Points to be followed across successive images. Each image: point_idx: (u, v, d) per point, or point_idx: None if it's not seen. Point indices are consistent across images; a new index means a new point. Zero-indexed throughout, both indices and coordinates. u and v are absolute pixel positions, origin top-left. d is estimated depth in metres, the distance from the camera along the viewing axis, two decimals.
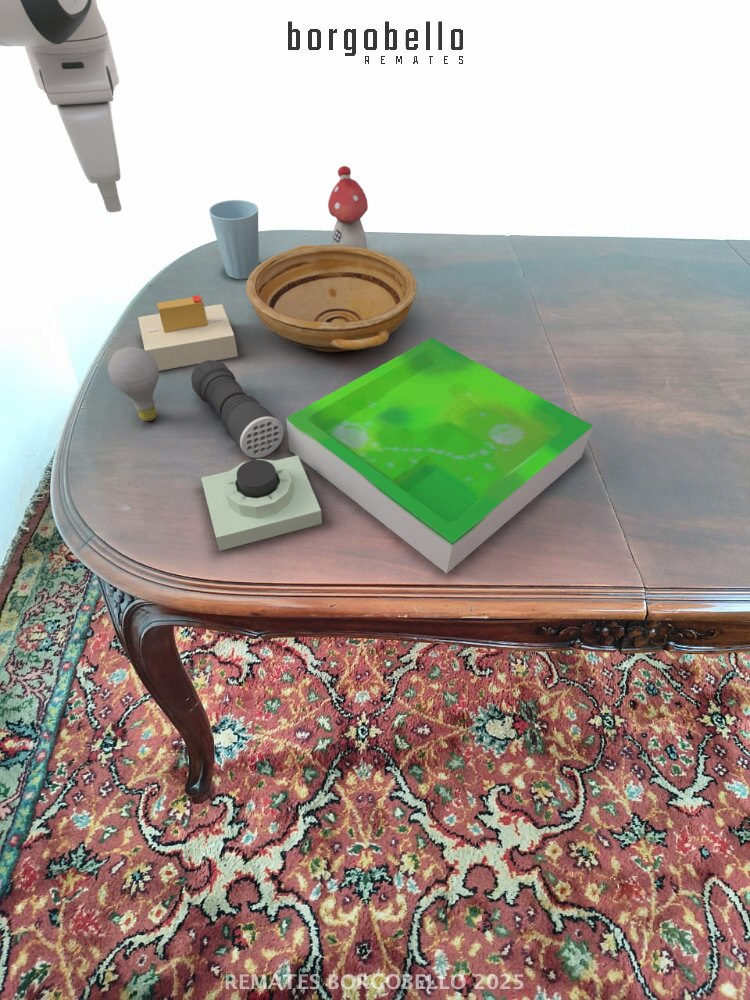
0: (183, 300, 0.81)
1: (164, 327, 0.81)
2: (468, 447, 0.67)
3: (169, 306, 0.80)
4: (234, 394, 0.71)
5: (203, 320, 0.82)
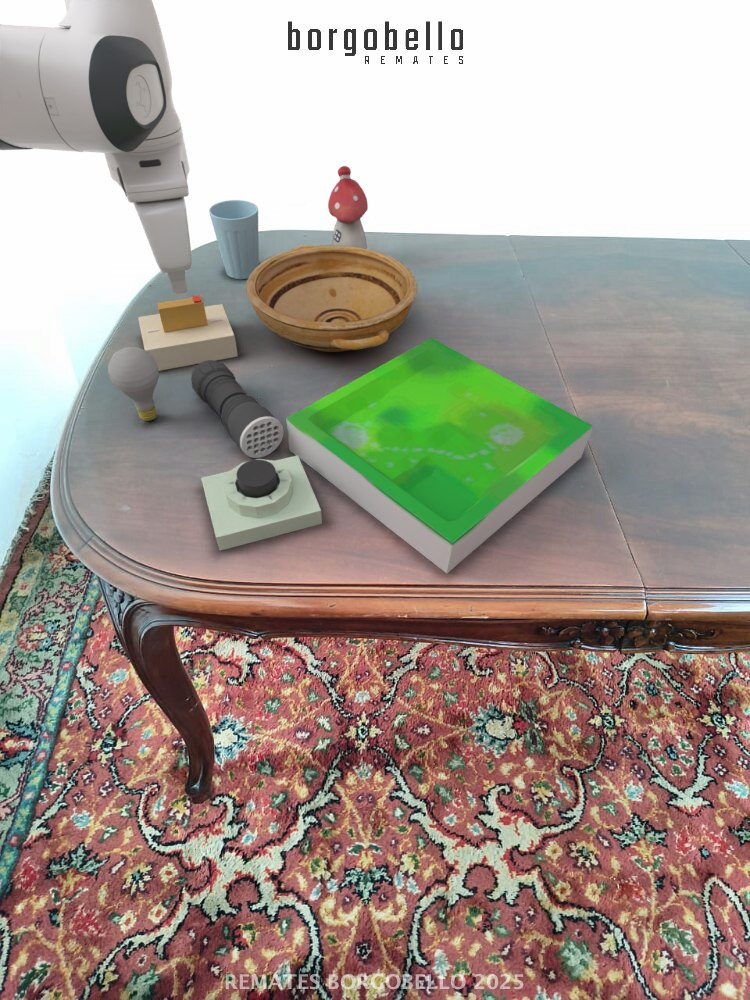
0: (183, 300, 0.81)
1: (164, 327, 0.81)
2: (468, 447, 0.67)
3: (169, 306, 0.80)
4: (234, 394, 0.71)
5: (203, 320, 0.82)
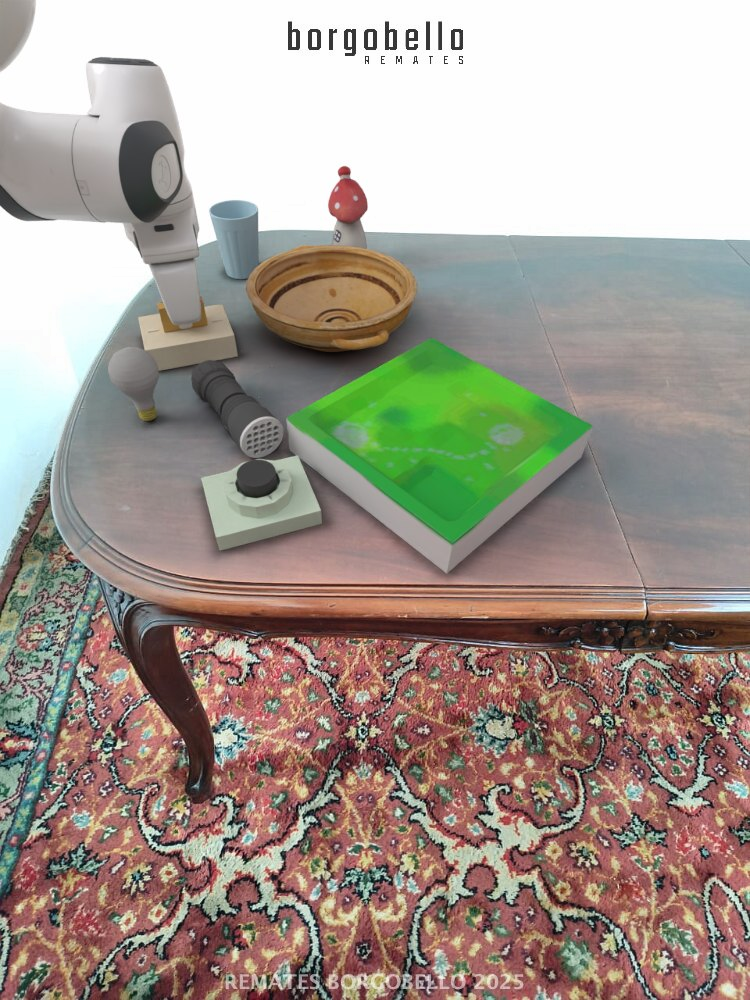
0: None
1: (164, 327, 0.81)
2: (468, 447, 0.67)
3: None
4: (234, 394, 0.71)
5: (203, 320, 0.82)
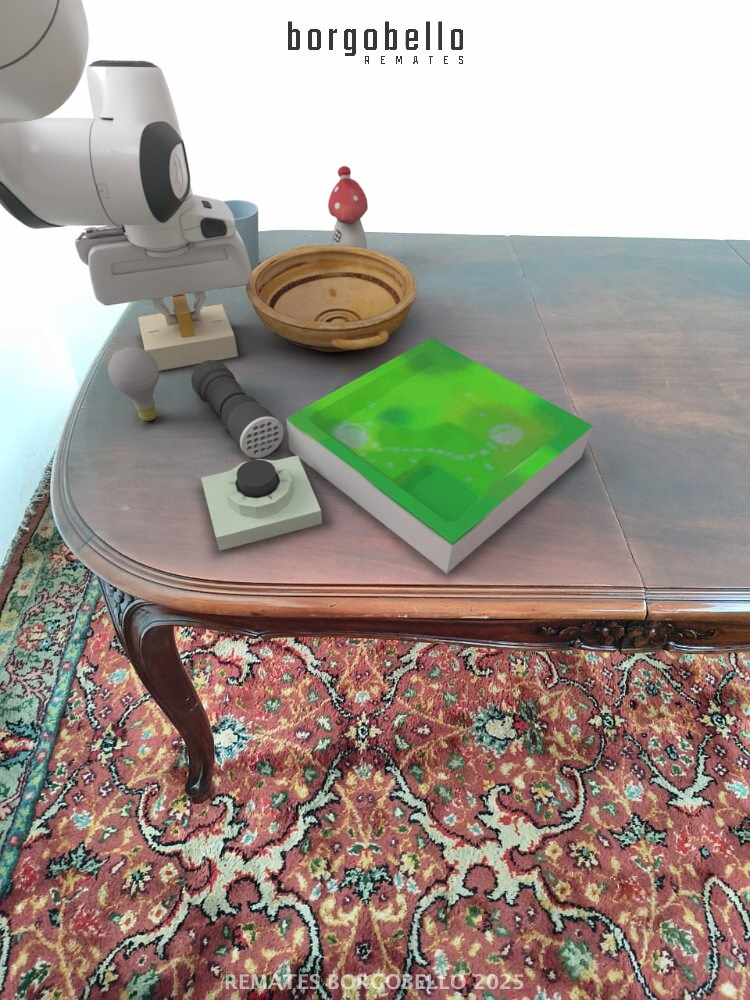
0: (176, 301, 0.81)
1: (193, 330, 0.81)
2: (468, 447, 0.67)
3: (185, 307, 0.80)
4: (234, 394, 0.71)
5: None
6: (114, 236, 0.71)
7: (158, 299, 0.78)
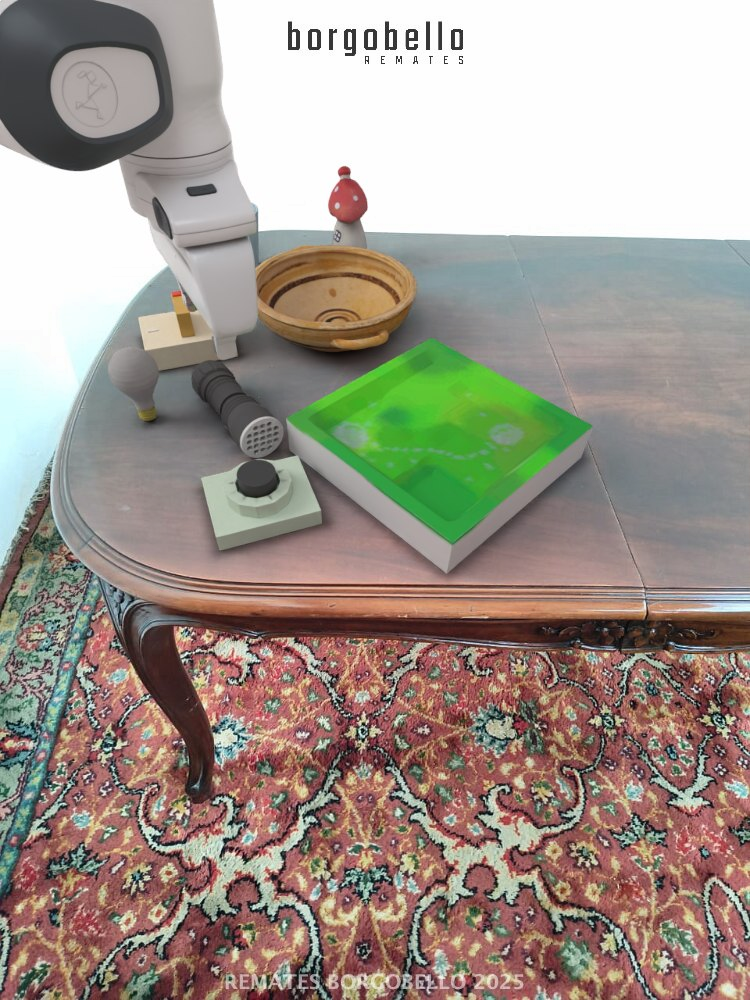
0: (176, 301, 0.81)
1: (193, 330, 0.81)
2: (468, 447, 0.67)
3: (185, 307, 0.80)
4: (234, 394, 0.71)
5: None
6: None
7: None
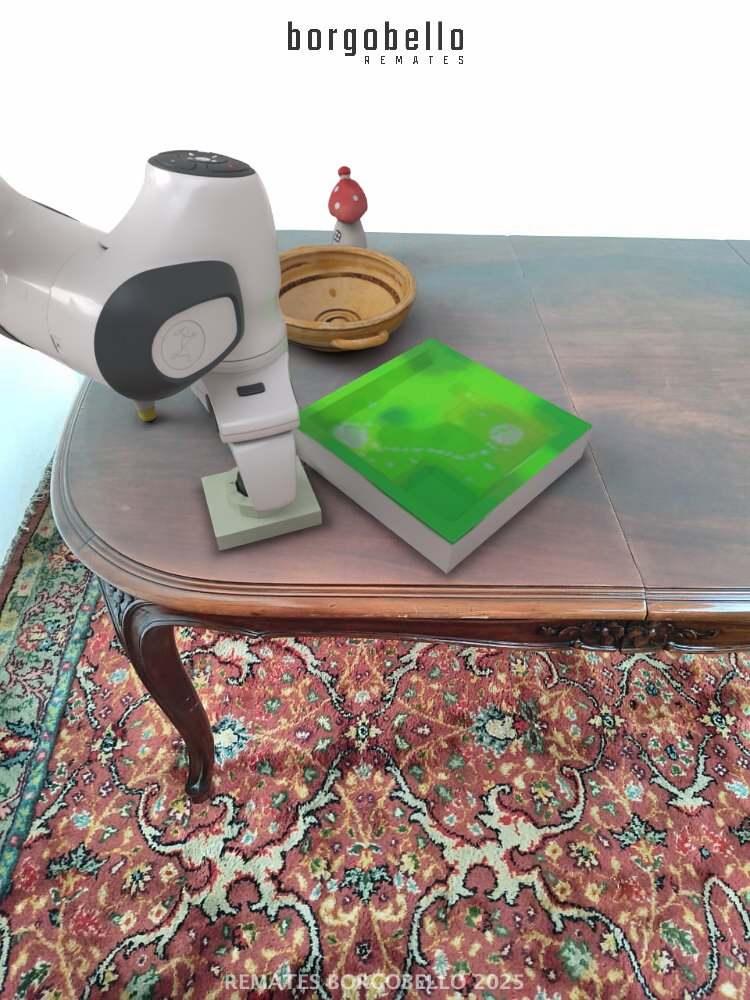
0: None
1: None
2: (468, 447, 0.67)
3: None
4: None
5: None
6: None
7: None
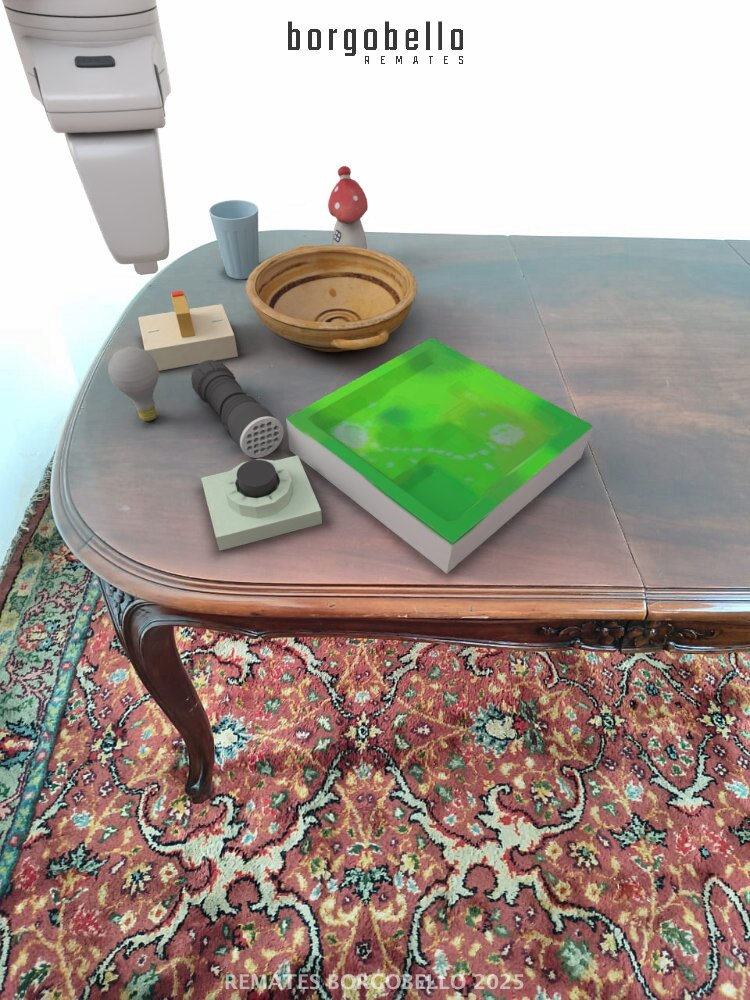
0: (176, 301, 0.81)
1: (193, 330, 0.81)
2: (468, 447, 0.67)
3: (185, 307, 0.80)
4: (234, 394, 0.71)
5: None
6: None
7: None
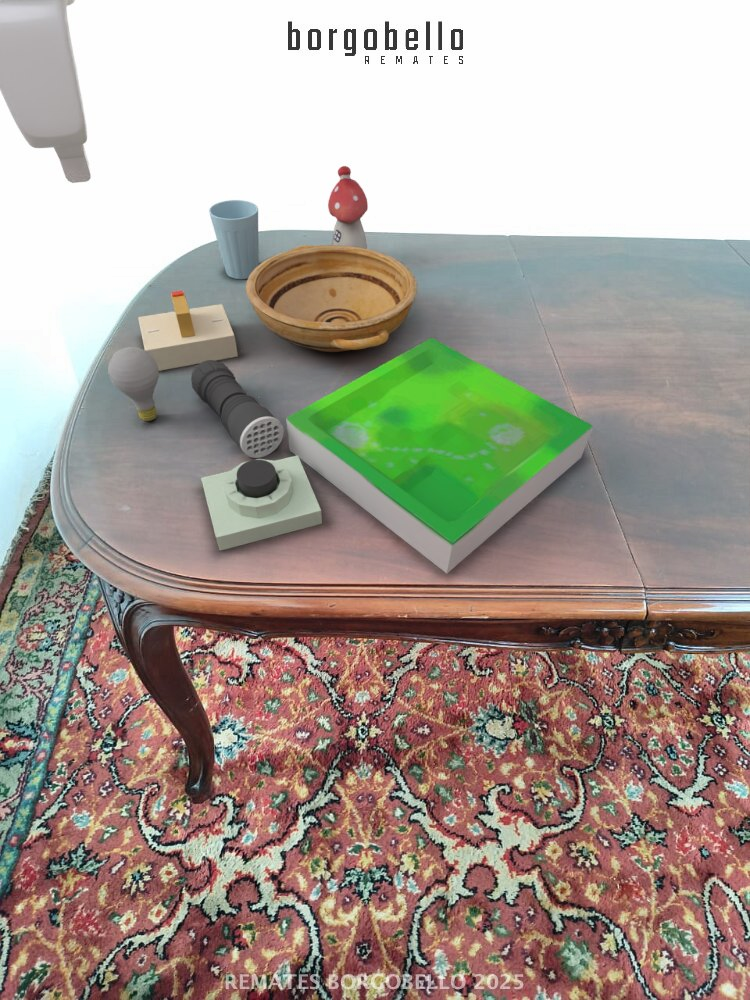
0: (176, 301, 0.81)
1: (193, 330, 0.81)
2: (468, 447, 0.67)
3: (185, 307, 0.80)
4: (234, 394, 0.71)
5: None
6: None
7: None
